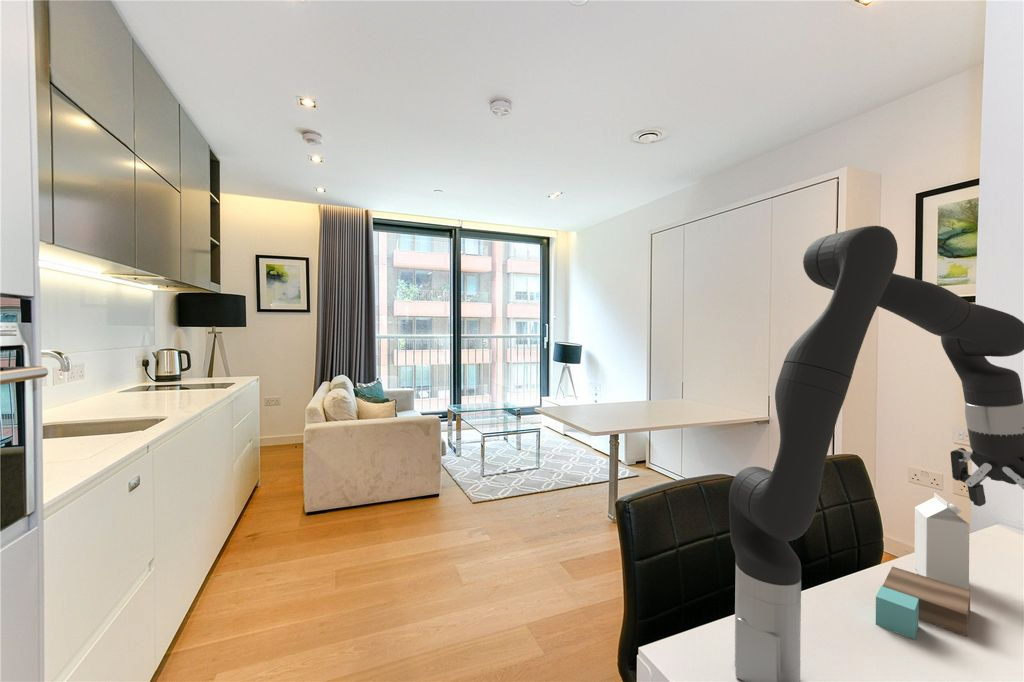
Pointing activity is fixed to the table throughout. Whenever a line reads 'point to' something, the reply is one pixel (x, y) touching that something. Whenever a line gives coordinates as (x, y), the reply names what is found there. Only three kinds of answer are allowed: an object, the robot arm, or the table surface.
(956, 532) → the milk carton
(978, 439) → the robot arm
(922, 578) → the walnut base
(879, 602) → the teal cube
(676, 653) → the table surface
